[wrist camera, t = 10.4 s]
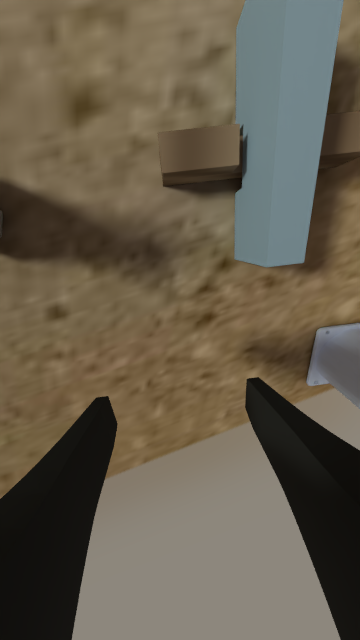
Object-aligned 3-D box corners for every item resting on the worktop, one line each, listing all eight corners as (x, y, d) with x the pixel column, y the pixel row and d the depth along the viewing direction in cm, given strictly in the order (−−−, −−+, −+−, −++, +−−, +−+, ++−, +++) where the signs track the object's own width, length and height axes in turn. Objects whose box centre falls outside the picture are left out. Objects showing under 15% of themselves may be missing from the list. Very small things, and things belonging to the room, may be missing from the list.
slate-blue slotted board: (273, 24, 12) (368, -169, 6) (260, 256, 17) (303, 262, 12) (236, 28, 12) (298, -163, 6) (234, 259, 17) (266, 267, 12)
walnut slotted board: (341, 134, 14) (384, 108, 11) (336, 166, 15) (374, 149, 12) (159, 154, 14) (157, 132, 11) (163, 186, 15) (162, 173, 12)
